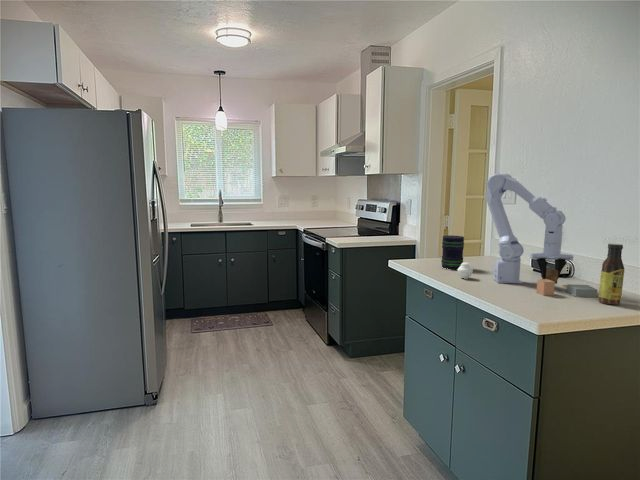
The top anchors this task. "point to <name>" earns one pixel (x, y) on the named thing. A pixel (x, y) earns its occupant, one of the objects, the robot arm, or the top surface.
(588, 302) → the top surface
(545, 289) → the terracotta block
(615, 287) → the sauce bottle
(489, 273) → the top surface
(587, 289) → the pedestal block
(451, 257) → the storage jar
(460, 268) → the white rounded piece
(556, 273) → the walnut block
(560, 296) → the top surface
